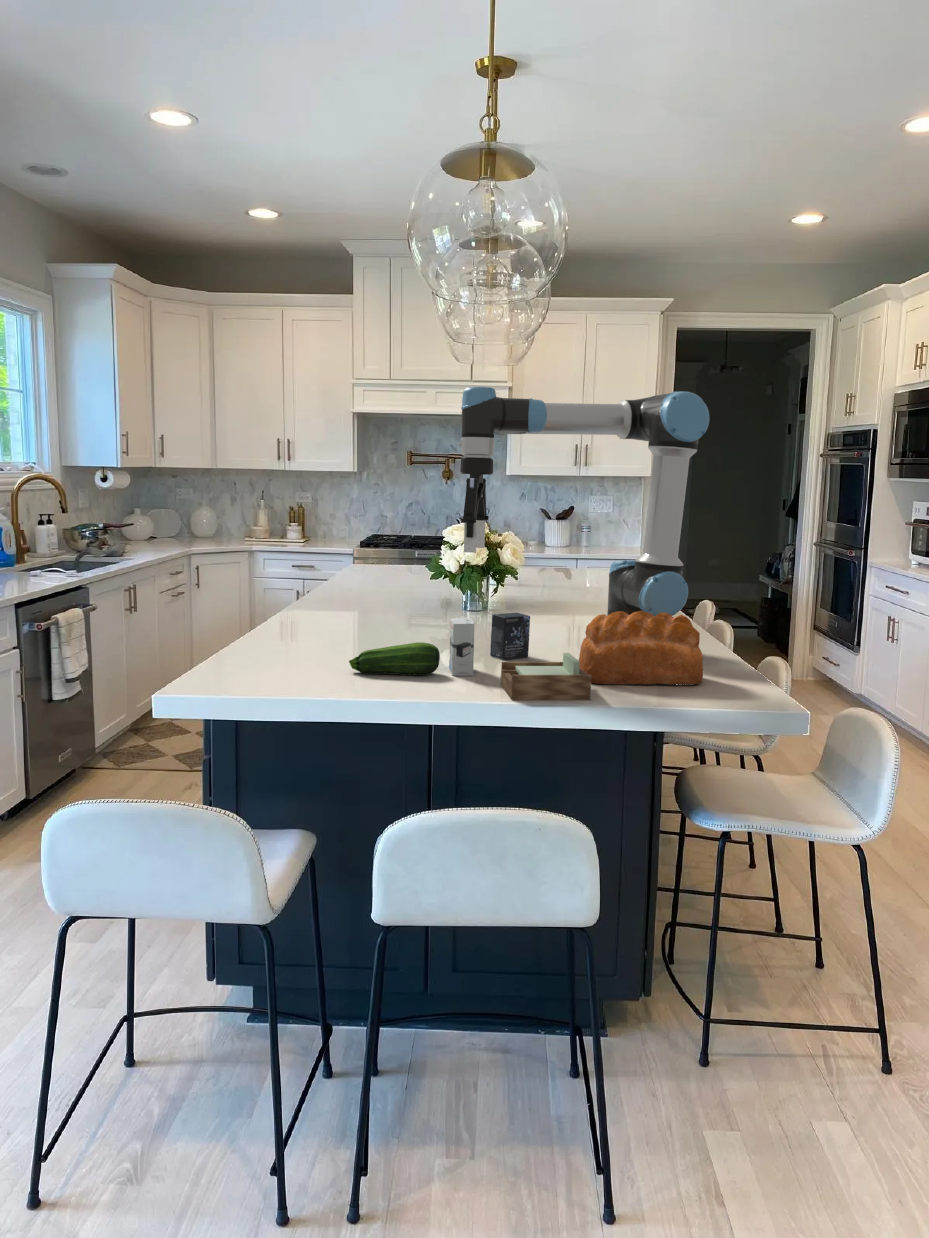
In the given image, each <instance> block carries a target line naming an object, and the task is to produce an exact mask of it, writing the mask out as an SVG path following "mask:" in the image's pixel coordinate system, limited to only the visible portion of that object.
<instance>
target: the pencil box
mask: <svg viewBox="0 0 929 1238" xmlns="http://www.w3.org/2000/svg"><path fill="white" fill-rule="evenodd" d="M515 666H563V661H501V669H500V670H501V672H500V686H501V687H502V689H503V690H504V692H505V693H506V694H507V696H508V697H509V699H510V700H511V701H591V692H592V683H591V675H588V674H587V673H586V672H584V671H583V670H582V669H581V668H580V667H579V673H580V674H581V675H519V673H518V672H517V671H516V670H515Z"/></svg>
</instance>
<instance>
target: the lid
mask: <svg viewBox="0 0 929 1238" xmlns="http://www.w3.org/2000/svg"><path fill="white" fill-rule="evenodd" d="M562 654H563V656H562V662H563V666H515V670H516V671H517V672H518V673H519V675H581V674H580V673H579V663H580V662H579V659H577V658H576V657H574V655H572V654H571V653H570V652H563V653H562Z"/></svg>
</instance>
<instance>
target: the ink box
mask: <svg viewBox="0 0 929 1238" xmlns="http://www.w3.org/2000/svg"><path fill="white" fill-rule="evenodd" d="M449 631H450V632H449V633H450V634H449V657H448V659H449V661H448V662H449V665H448V667H449V670H450V672H451V673H450V674H451V675H452V676H454V677H460V676H461V677H473V676H474V663H475V661H474V659H475V658H474V656H475V655H474V653H475V621H474V620H473V618H472V617H455V618H454V617H452V618H450V630H449Z"/></svg>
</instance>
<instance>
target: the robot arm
mask: <svg viewBox="0 0 929 1238" xmlns="http://www.w3.org/2000/svg"><path fill="white" fill-rule="evenodd" d="M496 391H497V390H496V389H495V388H494V387H488V386H469V387H466V388H465V389H464V390H463V392H462V400H461V441H459V442H458V446H459V447H460V454H461V455H462V456H463V457H461V458H460V465H459V466H460V468H459V470H460V474H462V475H469V477H467V478H466V481H465V482H466V484H465V485H466V487H465V488H466V489H465V496H464V498H465V499H464V507H463V516H462V518H461V519H460V523H462V524H464V525H463V526H464V527H463V529H464V530H463V534H464V535H463V553H477V549H480V548H481V549H485V548H486V542H485V541H486V521H489V518H490V517H489V515H488V513H487V492H486V490H487V488H486V487H487V480H486V478H484V476H485V475H488V476H489V475H490V476H491V475H493V474H494V459H493V458H492V456H494V455H495V435H497V436H498V435H500V436H504V435H585V436H586V435H587V436H588V435H595V436H596V435H597V436H598V435H600V436H602V435H604V436H605V435H606V436H609V435H610V436H613V435H614V436H616V437H618V438H619V439H620V440H636V441H644V442H648V447H647V448H648V450H649V451H650V452H651V453H652V456H653V457H652V467H651V473H650V474H651V476H650V483H649V494H648V503H647V510H646V517H645V518H646V520H645V527H644V528H645V529H644V537H643V546H642V553H641V554H640V555H639V556H638V557H637V558H635V560H634V559H633V560H632V559H631V560H628V559H627V560H625V559H624V560H614V561H612V562H611V564H610V568H609V571H608V593H607V594H608V598H607V614H606V615H607V616H608V615H610V614H611V613H613V612H617V611H623V612H625V613H627V614H629V615H630V614H632V613H633V612H637V611H644V612H647V613H651V614H652V615H653V616H656V615H658V614H659V613H668V614H670V615H671V616H672V617H674V616H675V615H676V614H679V612H680V611H681V610H682V609H683V608H684V606H686V603H687V600H688V597H689V586H688V583H687V582H686V580H685V578H684V577H683V572H684V563H683V562H682V561H681V559H680V558H679V551H680V549H679V548H680V540H681V531H682V524H683V516H684V508H685V501H686V493H687V492H686V491H687V483H688V482H687V481H688V475H689V466H690V459H691V457H692V456H693V455H695V454H696V453H697V452H698V448H699V447H698V446H699V445H698V444H699V440H700V438H702V436H704V434H705V433H706V432H707V431H708V428H709V424H710V411H709V408H708V406H707V404H706V403H705V402H704V400H703V399H702V397H701V396H699V395H698V394H696V393H694V392H691V391H681V390H680V391H675V390H674V391H672V392H668V393H665V394H657V395H652V396H648V397H644V398H638V399H637V398H636V399H622V400H620V401H619V402H618V403H575V402H574V403H567V402H566V403H565V402H564V403H562V402H557V403H556V402H545V401H543V400H542V399H533V398H518V397H517V398H515V397H514V398H511V397H510V398H509V397H499V396H497V394H496V393H497V392H496Z"/></svg>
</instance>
